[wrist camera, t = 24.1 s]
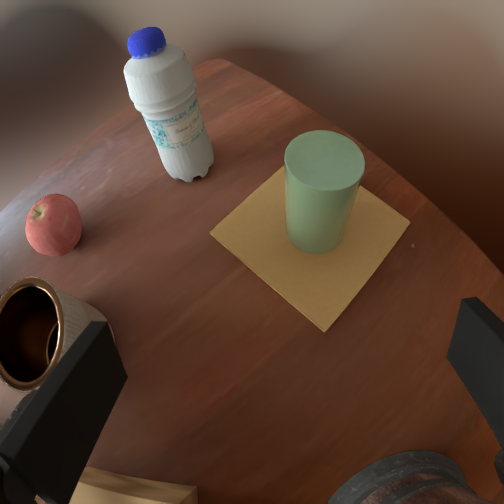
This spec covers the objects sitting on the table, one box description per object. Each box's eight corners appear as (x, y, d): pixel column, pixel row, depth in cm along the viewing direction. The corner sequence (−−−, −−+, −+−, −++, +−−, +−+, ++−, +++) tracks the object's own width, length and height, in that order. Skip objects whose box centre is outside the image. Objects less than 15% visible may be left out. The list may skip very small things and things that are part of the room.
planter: (39, 321, 32) (-14, 296, 24) (107, 292, 33) (59, 257, 24) (55, 407, 28) (-4, 401, 19) (131, 386, 28) (77, 379, 20)
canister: (272, 228, 34) (267, 160, 24) (310, 192, 36) (317, 119, 26) (319, 266, 32) (334, 205, 22) (355, 224, 33) (379, 157, 23)
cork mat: (209, 234, 35) (209, 232, 35) (303, 150, 39) (303, 148, 39) (324, 333, 29) (325, 332, 29) (409, 224, 33) (410, 221, 33)
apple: (46, 271, 35) (8, 244, 28) (52, 223, 38) (19, 192, 31) (91, 259, 35) (54, 228, 28) (94, 209, 38) (63, 173, 31)
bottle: (188, 197, 37) (127, 55, 19) (157, 171, 40) (96, 43, 22) (229, 164, 39) (195, 19, 21) (195, 141, 41) (155, 11, 23)
